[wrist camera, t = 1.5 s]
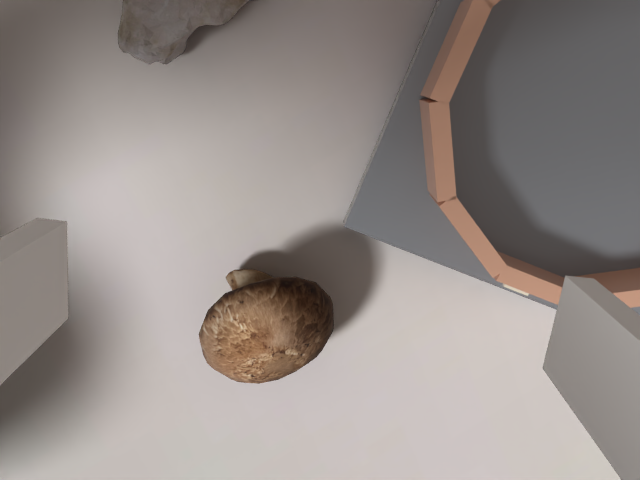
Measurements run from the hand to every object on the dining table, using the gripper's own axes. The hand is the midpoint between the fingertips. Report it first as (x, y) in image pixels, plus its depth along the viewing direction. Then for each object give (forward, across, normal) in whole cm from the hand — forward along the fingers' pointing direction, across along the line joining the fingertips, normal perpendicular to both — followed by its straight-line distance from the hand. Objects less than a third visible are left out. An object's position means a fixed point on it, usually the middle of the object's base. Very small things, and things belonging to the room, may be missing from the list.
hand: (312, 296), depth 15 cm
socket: (+20, +15, +5) cm, 25 cm away
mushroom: (+20, -2, -9) cm, 22 cm away
